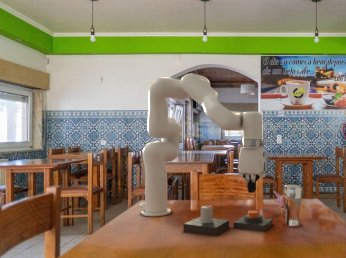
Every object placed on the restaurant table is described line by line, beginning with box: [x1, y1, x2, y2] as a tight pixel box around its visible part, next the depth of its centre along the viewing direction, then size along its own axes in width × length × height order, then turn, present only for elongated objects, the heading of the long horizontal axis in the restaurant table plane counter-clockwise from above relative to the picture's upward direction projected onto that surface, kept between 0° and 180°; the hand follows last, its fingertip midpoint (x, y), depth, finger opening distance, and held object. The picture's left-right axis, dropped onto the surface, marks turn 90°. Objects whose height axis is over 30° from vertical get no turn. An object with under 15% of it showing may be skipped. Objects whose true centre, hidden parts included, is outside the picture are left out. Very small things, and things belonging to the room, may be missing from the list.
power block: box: [233, 213, 273, 233], centre depth 134 cm, size 12×10×4 cm
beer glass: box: [282, 184, 302, 228], centre depth 136 cm, size 7×7×15 cm
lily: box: [273, 190, 285, 216], centre depth 153 cm, size 12×12×10 cm
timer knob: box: [200, 205, 214, 223], centre depth 130 cm, size 4×4×6 cm
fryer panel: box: [183, 216, 230, 237], centre depth 130 cm, size 13×11×3 cm
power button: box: [247, 210, 260, 218], centre depth 134 cm, size 4×4×2 cm
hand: (251, 192), depth 135 cm, fingers closed
